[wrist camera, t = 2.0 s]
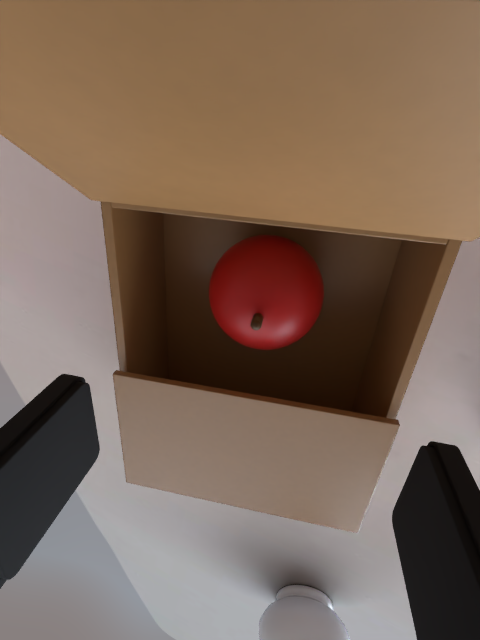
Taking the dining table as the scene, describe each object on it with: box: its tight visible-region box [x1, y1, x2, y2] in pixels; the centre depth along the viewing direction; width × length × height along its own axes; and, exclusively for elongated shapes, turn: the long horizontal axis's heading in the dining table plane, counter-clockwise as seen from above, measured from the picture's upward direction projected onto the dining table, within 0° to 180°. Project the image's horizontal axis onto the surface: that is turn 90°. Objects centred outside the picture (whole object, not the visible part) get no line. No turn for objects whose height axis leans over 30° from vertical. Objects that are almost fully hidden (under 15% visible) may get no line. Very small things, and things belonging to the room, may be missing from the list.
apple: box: [209, 235, 324, 350], centre depth 18 cm, size 6×6×7 cm
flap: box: [0, 0, 480, 241], centre depth 9 cm, size 9×15×1 cm
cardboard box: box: [101, 201, 462, 533], centre depth 21 cm, size 18×15×7 cm
